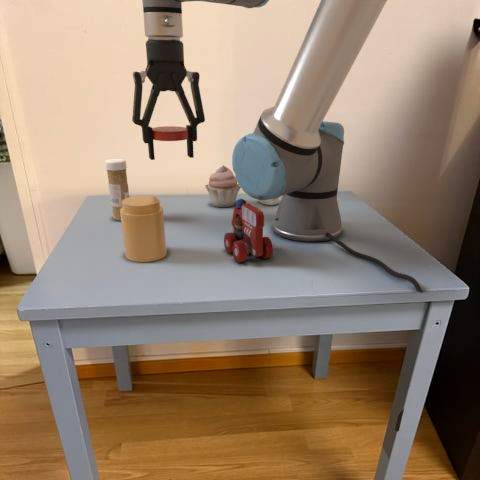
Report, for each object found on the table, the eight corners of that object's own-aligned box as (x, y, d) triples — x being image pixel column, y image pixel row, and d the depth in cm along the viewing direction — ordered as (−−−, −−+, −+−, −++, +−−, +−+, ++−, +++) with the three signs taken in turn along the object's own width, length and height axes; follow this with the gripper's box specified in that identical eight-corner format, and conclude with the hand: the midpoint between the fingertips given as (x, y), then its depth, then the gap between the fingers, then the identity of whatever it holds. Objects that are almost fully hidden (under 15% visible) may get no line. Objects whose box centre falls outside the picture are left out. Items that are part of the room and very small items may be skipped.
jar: (175, 253, 90) (171, 200, 84) (143, 265, 84) (137, 209, 79) (148, 243, 94) (143, 192, 89) (117, 254, 89) (109, 201, 83)
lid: (158, 134, 104) (158, 125, 103) (193, 136, 103) (192, 127, 102) (146, 140, 97) (145, 130, 96) (182, 141, 96) (182, 132, 95)
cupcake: (213, 211, 114) (212, 170, 109) (200, 201, 122) (199, 163, 117) (246, 207, 118) (247, 167, 113) (232, 198, 125) (232, 160, 120)
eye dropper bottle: (272, 199, 124) (274, 153, 118) (279, 205, 119) (281, 158, 113) (257, 200, 123) (258, 154, 117) (263, 206, 118) (264, 158, 112)
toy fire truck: (251, 242, 96) (252, 192, 90) (276, 263, 86) (279, 209, 80) (219, 246, 93) (219, 195, 88) (242, 268, 83) (243, 213, 78)
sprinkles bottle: (135, 218, 109) (129, 160, 102) (119, 222, 106) (111, 162, 99) (125, 214, 111) (118, 157, 105) (109, 218, 109) (101, 159, 102)
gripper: (113, 37, 85) (126, 163, 96) (219, 40, 91) (220, 158, 102) (108, 38, 91) (122, 156, 102) (209, 41, 97) (211, 152, 108)
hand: (171, 157), depth 102 cm, fingers closed on lid, 8 cm apart
